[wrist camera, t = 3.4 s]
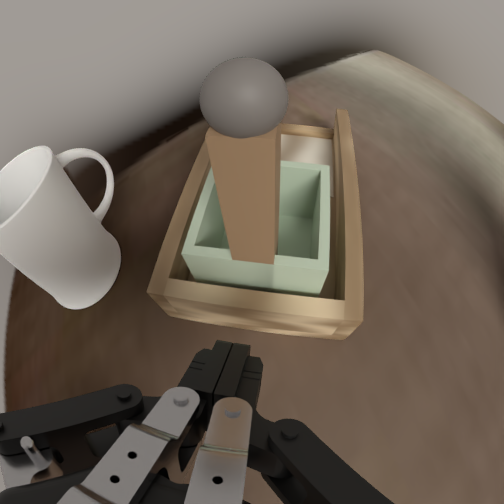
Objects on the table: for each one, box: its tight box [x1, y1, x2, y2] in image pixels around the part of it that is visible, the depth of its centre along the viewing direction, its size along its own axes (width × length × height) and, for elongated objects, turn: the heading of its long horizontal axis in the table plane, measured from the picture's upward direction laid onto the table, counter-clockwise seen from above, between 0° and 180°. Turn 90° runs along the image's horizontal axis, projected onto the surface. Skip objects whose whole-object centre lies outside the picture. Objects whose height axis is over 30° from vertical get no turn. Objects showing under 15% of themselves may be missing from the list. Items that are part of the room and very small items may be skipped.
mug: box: [0, 146, 121, 309], centre depth 20 cm, size 12×8×12 cm
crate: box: [181, 57, 330, 298], centre depth 15 cm, size 8×8×16 cm
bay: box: [147, 109, 364, 340], centre depth 24 cm, size 13×22×5 cm, turn 171°
